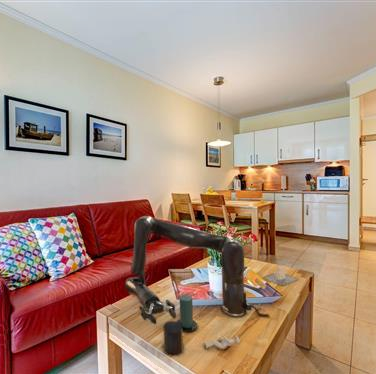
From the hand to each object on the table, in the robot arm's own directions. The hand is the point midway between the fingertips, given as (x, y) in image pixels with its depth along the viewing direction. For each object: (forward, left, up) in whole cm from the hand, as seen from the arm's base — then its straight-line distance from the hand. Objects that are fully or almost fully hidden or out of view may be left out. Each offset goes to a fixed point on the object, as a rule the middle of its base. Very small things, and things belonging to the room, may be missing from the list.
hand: (165, 318), depth 90 cm
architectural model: (-77, -43, -8) cm, 88 cm away
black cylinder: (-2, +6, -7) cm, 10 cm away
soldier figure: (-19, +8, -8) cm, 22 cm away
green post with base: (-10, -6, -7) cm, 14 cm away
